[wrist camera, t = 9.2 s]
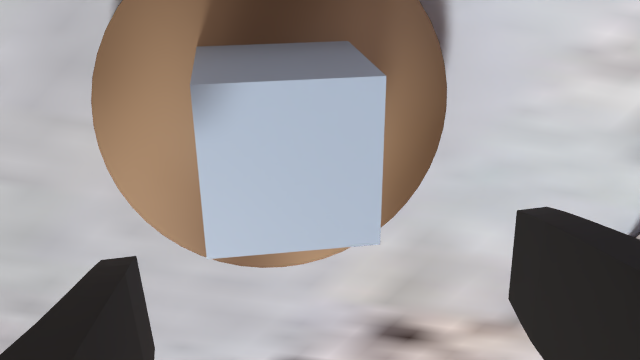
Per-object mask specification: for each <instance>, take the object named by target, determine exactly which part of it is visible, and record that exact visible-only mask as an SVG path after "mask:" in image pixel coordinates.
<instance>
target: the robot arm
mask: <svg viewBox="0 0 640 360" xmlns="http://www.w3.org/2000/svg"><path fill="white" fill-rule="evenodd" d="M509 301H510V303H511V305H512V307H513V309H514V311H515V313H516V315H517V317H518V319H519V321H520V323H521V324H522V326H523V328H524V330H525V332H526V333H527V335H528V337H529V339H530V341H531V342H532V344H533V345H534V346H535V348H536V349H537V351H538V352H539V354H540V355H541V356H542V358H543V359H544V360H640V239H637V238H634V237H632V236H629V235H626V234H624V233H621V232H619V231H616V230H613V229H611V228H608V227H605V226H603V225H600V224H598V223H595V222H592V221H590V220H587V219H584V218H581V217H579V216H576V215H573V214H570V213H567V212H564V211H561V210H557V209H553V208H549V207H542V208H533V209H525V210H517V216H516V226H515V236H514V247H513V257H512V268H511V278H510V288H509ZM154 351H155V347H154V342H153V337H152V332H151V327H150V322H149V317H148V312H147V307H146V302H145V297H144V292H143V287H142V282H141V277H140V273H139V268H138V263H137V258H136V256H132V257H124V258H115V259H107V260H101V261H100V262H99V263H97V264H96V265H95V266H94V267H93V268H92V269H91V270H90V271H89V272H88V273H87V274H86V275H85V276H84V277H83V278H82V279H81V280H80V281H79V282H78V283H77V284H76V285H75V286H74V287H73V288H72V289H71V290H70V291H69V292H68V293H67V294H66V295H65V296H64V297H63V298H62V299H61V300H60V301H59V302H58V303H57V304H55V305H54V306H53V307H52V308H51V309H50V310H49V311H48V312H47V313H46V314H45V315H44V316H43V317H42V318H41V319H40V320H39V321H38V322H37V323H36V324H35V325H34V326H32V327H31V328H30V329H29V330H28V331H27V332H26V333H24V334H23V335H22V336H21V337H20V338H19V339H18V340H16V341H15V342H14V343H13V344H12V345H11V346H10V347H8V348H7V349H6V350H5V351H4V352H3V353H2V354H0V360H154Z"/></svg>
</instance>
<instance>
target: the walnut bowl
mask: <svg viewBox="0 0 640 360" xmlns="http://www.w3.org/2000/svg"><path fill="white" fill-rule="evenodd" d="M335 41H349V42H350V43H351V44H352V45H353V46H354V47H355V48H356V49H357V50H359V51H360V52H361V53H362V54H363V55H364V56H365V57H366V58H367V59H368V60H369V61H371V62H372V63H373V64H374V65H375V66H376V67H377V68H378V69H379V70H380V71H382V72H383V73H384V74H385V75H386V99H385V126H384V152H383V179H382V205H381V227H382V226H383V225H385V224H386V223H387V222H388V221H389V220H390V219H392V218H393V217H394V216H395V215H396V214H397V212H398V211H399V210H400V209H401V208H402V207H403V206H404V205H405V204H406V203H407V202H408V200H409V199H410V198H411V196H412V195H413V193H414V192H415V191H416V189H417V188H418V187H419V185H420V183H421V182H422V180H423V178H424V176H425V175H426V173H427V171H428V169H429V168H430V165H431V163H432V160H433V158H434V156H435V153H436V151H437V148H438V145H439V141H440V138H441V134H442V131H443V126H444V119H445V113H446V100H447V83H446V74H445V65H444V60H443V56H442V52H441V48H440V44H439V41H438V38H437V36H436V33H435V31H434V28H433V26H432V23H431V21H430V19H429V17H428V16H427V14H426V12H425V10H424V9H423V7H422V5H421V3H420V2H419V0H123V1H122V2H121V3H120V5H119V6H118V7H117V9H116V11H115V13H114V15H113V17H112V19H111V21H110V22H109V24H108V26H107V28H106V30H105V33H104V36H103V39H102V41H101V44H100V47H99V50H98V53H97V57H96V62H95V67H94V72H93V77H92V97H91V104H92V115H93V125H94V129H95V133H96V138H97V142H98V146H99V149H100V152H101V154H102V157H103V159H104V162H105V165H106V167H107V169H108V171H109V173H110V175H111V177H112V178H113V180H114V182H115V184H116V186H117V187H118V189H119V190H120V192H121V193H122V194H123V196H124V197H125V198H126V200H127V201H128V202H129V204H130V205H131V206H132V207H133V208H134V209H135V211H136V212H137V213H138V214H139V215H140V216H141V217H142V218H143V219H144V220H145V221H146V222H147V223H149V224H150V225H151V226H152V227H154V228H155V229H156V230H157V231H159V232H160V233H161V234H162V235H164V236H165V237H167V238H168V239H170V240H172V241H173V242H175V243H177V244H178V245H180V246H181V247H184V248H186V249H188V250H190V251H192V252H194V253H197V254H199V255H201V256H204V257H207V256H206V246H205V235H204V225H203V215H202V204H201V194H200V184H199V173H198V163H197V153H196V143H195V132H194V122H193V112H192V101H191V91H190V82H191V76H192V70H193V64H194V59H195V53H196V47H199V46H226V45H253V44H280V43H307V42H335ZM348 248H350V247H344V248H332V249H321V250H309V251H298V252H286V253H274V254H263V255H251V256H240V257H228V258H216V259H213V260H217V261H220V262H224V263H229V264H234V265H239V266H248V267H260V268H266V267H286V266H293V265H300V264H305V263H309V262H313V261H317V260H320V259H324V258H326V257H329V256H332V255H334V254H337V253H340V252H342V251H344V250H346V249H348Z"/></svg>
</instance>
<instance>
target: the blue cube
mask: <svg viewBox="0 0 640 360" xmlns="http://www.w3.org/2000/svg"><path fill="white" fill-rule="evenodd" d="M190 91H191V101H192V112H193V122H194V132H195V143H196V153H197V163H198V173H199V184H200V194H201V204H202V215H203V225H204V235H205V246H206V256H207V259H216V258H228V257H240V256H251V255H263V254H274V253H286V252H298V251H309V250H321V249H332V248H344V247H356V246H367V245H379V244H380V232H381V205H382V179H383V152H384V126H385V99H386V75H385V74H384V73H383V72H382V71H380V70H379V69H378V68H377V67H376V66H375V65H374V64H373V63H372V62H371V61H369V60H368V59H367V58H366V57H365V56H364V55H363V54H362V53H361V52H360V51H359V50H357V49H356V48H355V47H354V46H353V45H352V44H351V43H350V42H349V41H335V42H307V43H280V44H253V45H226V46H199V47H196V53H195V59H194V64H193V70H192V76H191V82H190Z"/></svg>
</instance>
